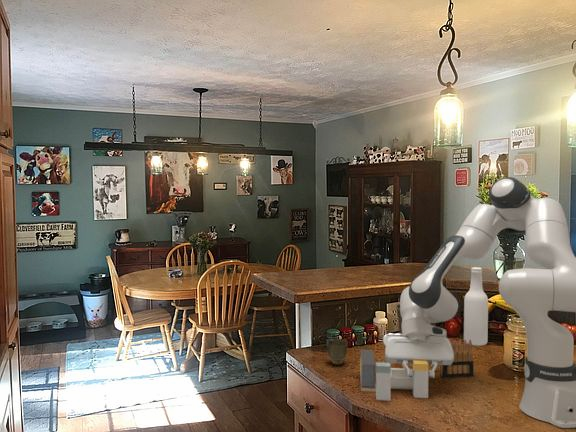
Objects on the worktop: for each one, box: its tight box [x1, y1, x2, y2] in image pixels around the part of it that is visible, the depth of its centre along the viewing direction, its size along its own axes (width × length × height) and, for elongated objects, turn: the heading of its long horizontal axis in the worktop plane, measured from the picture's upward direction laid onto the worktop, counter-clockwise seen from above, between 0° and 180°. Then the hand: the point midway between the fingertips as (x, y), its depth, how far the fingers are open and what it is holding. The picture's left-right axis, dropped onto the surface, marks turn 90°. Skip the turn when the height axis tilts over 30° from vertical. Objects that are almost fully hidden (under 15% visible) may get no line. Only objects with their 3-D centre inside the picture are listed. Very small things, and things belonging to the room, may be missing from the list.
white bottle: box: [463, 266, 489, 347], centre depth 193 cm, size 9×9×30 cm
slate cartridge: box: [375, 361, 392, 402], centre depth 142 cm, size 4×3×10 cm
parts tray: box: [391, 367, 413, 390], centre depth 153 cm, size 9×9×3 cm
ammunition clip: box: [439, 339, 475, 379], centre depth 159 cm, size 11×2×12 cm, turn 96°
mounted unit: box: [359, 349, 376, 393], centre depth 154 cm, size 5×16×8 cm, turn 173°
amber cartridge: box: [412, 360, 429, 399], centre depth 144 cm, size 4×3×10 cm
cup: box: [325, 338, 349, 366], centre depth 170 cm, size 8×7×8 cm
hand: (420, 376), depth 143 cm, fingers open, 5 cm apart
